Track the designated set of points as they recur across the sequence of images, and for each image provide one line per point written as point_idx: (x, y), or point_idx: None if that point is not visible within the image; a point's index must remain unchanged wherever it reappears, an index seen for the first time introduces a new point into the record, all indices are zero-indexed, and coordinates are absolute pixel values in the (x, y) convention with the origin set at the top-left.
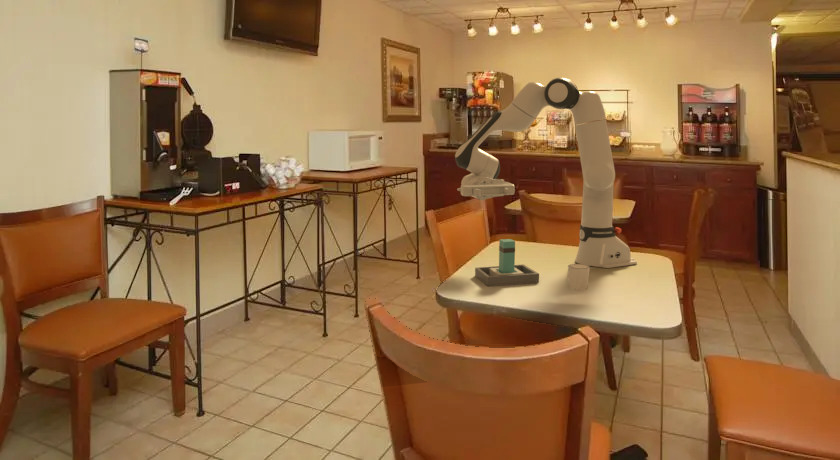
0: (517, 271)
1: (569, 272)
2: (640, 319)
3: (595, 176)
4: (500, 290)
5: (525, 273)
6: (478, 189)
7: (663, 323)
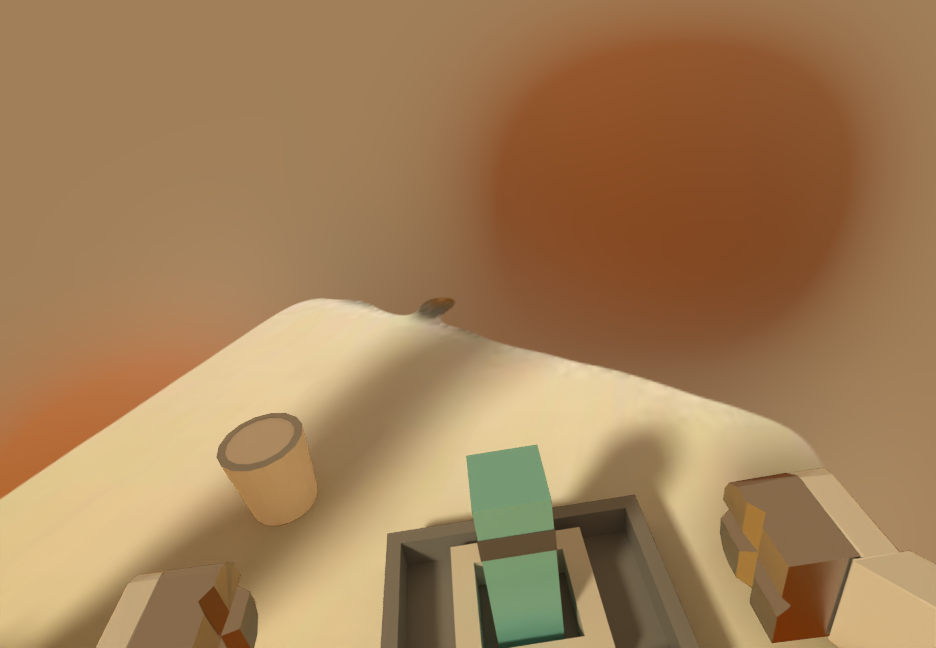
0: (472, 576)
1: (306, 450)
2: (324, 320)
3: None
4: (585, 476)
5: None
6: (904, 570)
7: (300, 309)
